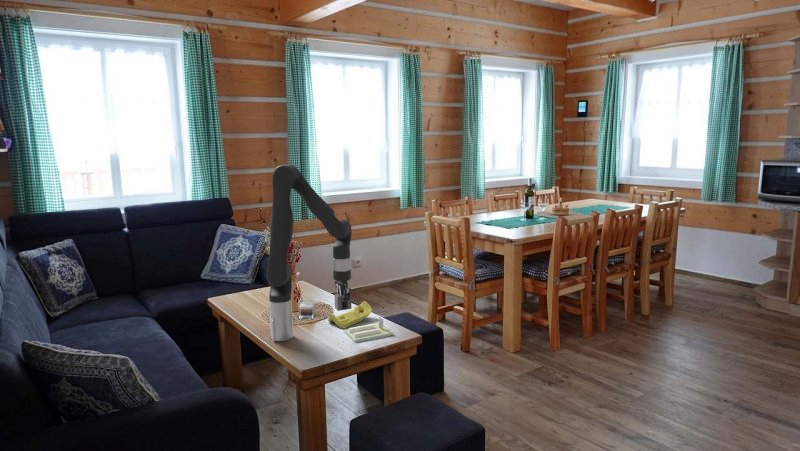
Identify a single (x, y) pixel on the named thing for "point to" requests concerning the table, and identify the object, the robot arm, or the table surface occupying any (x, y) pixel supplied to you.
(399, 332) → the table surface
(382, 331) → the board
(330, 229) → the robot arm
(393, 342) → the table surface
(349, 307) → the plug
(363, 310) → the plastic component
